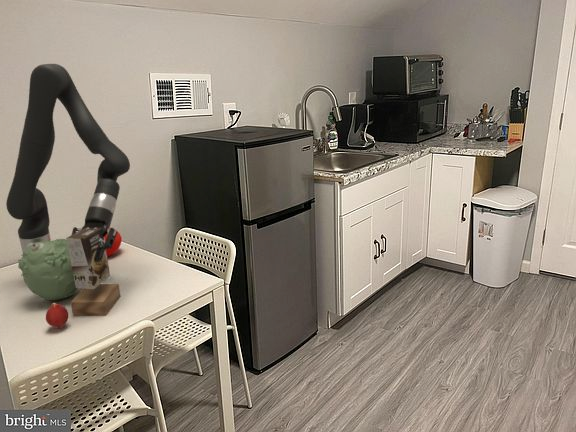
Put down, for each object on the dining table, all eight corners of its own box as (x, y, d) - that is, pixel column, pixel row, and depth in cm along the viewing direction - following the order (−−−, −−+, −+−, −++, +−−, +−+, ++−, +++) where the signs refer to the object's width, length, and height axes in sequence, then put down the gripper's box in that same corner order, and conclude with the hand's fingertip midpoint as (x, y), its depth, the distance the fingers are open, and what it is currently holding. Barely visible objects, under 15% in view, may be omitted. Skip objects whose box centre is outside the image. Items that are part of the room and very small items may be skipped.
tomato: (89, 251, 190) (84, 224, 186) (124, 247, 193) (120, 220, 189) (84, 263, 178) (79, 234, 175) (121, 258, 181) (117, 230, 177)
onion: (53, 323, 136) (47, 298, 134) (73, 321, 137) (68, 297, 134) (45, 333, 131) (39, 308, 128) (66, 332, 131) (60, 306, 129)
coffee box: (94, 289, 138) (84, 238, 133) (75, 288, 139) (64, 237, 134) (111, 276, 146) (102, 227, 141) (93, 275, 147) (83, 227, 142)
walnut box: (73, 317, 140) (70, 302, 138) (90, 298, 151) (87, 284, 149) (106, 316, 139) (103, 301, 138) (121, 297, 151) (118, 283, 149)
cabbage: (94, 299, 149) (83, 240, 143) (28, 316, 141) (13, 254, 135) (87, 281, 163) (77, 227, 156) (26, 295, 154) (13, 238, 148)
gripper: (73, 205, 144) (57, 255, 137) (116, 205, 141) (101, 256, 134) (87, 216, 151) (71, 264, 143) (127, 216, 148) (114, 266, 140)
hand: (86, 260), depth 139 cm, fingers closed on coffee box, 6 cm apart
